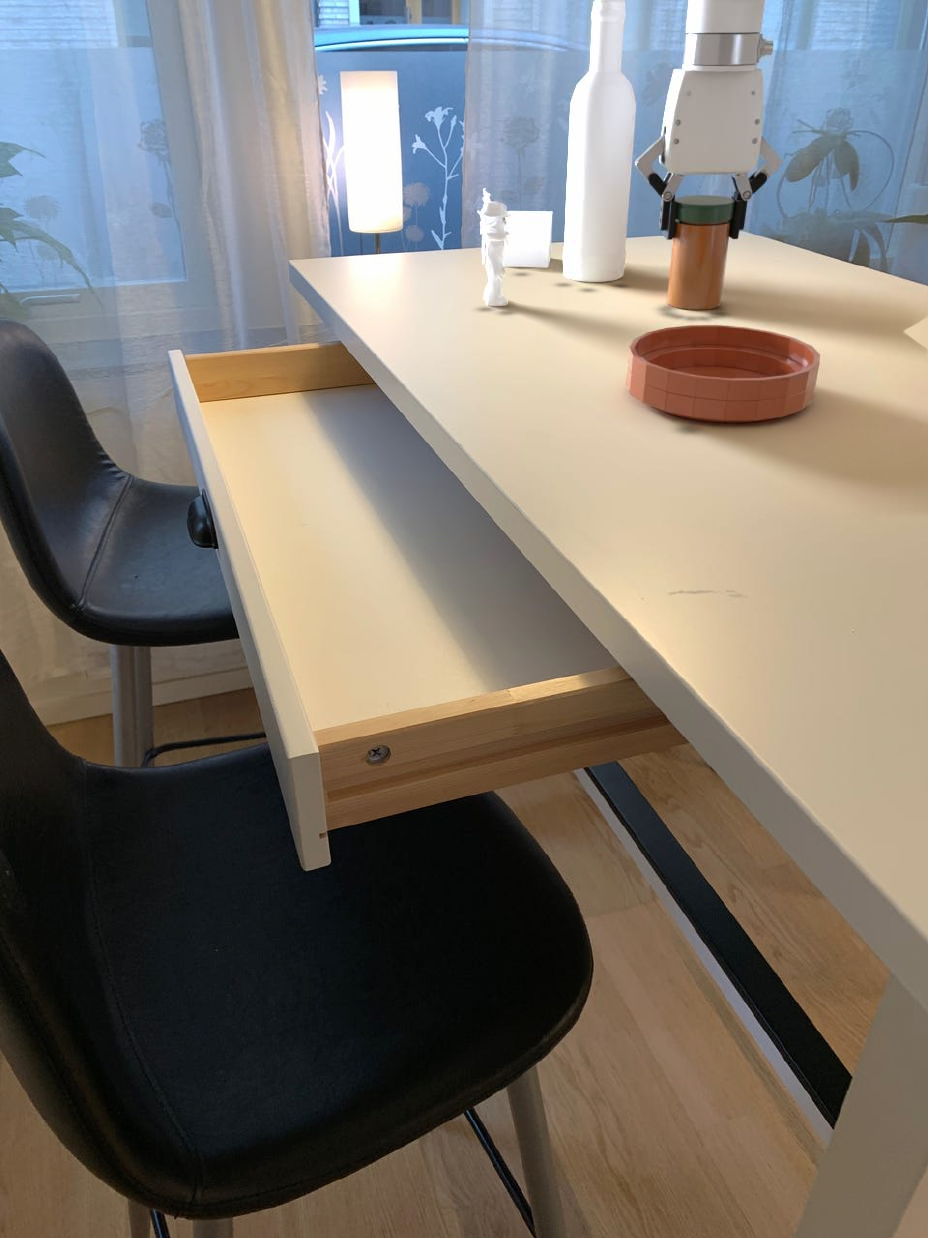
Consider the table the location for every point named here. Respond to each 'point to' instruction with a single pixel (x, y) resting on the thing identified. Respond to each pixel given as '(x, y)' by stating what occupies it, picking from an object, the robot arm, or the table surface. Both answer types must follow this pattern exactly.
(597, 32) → the bottle
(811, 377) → the bowl
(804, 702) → the table surface
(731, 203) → the lid
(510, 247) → the white cube
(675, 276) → the jar
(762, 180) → the robot arm
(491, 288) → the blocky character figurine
